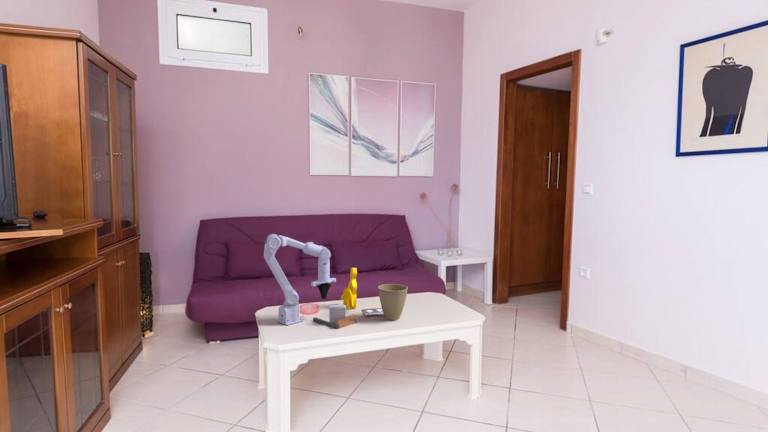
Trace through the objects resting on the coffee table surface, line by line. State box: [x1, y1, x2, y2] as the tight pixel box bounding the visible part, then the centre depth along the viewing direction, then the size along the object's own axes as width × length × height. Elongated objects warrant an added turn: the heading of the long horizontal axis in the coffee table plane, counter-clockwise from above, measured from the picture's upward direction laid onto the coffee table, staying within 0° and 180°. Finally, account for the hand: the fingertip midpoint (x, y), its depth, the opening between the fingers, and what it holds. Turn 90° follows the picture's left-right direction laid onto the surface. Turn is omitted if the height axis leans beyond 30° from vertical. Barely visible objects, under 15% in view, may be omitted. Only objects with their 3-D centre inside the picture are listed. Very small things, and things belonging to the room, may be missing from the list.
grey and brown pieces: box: [312, 314, 358, 330], centre depth 214 cm, size 12×18×4 cm
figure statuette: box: [340, 267, 358, 310], centre depth 238 cm, size 18×8×22 cm, turn 26°
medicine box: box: [328, 304, 347, 324], centre depth 211 cm, size 8×4×9 cm, turn 92°
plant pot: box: [377, 283, 409, 321], centre depth 220 cm, size 15×15×16 cm
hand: (323, 298), depth 218 cm, fingers closed
